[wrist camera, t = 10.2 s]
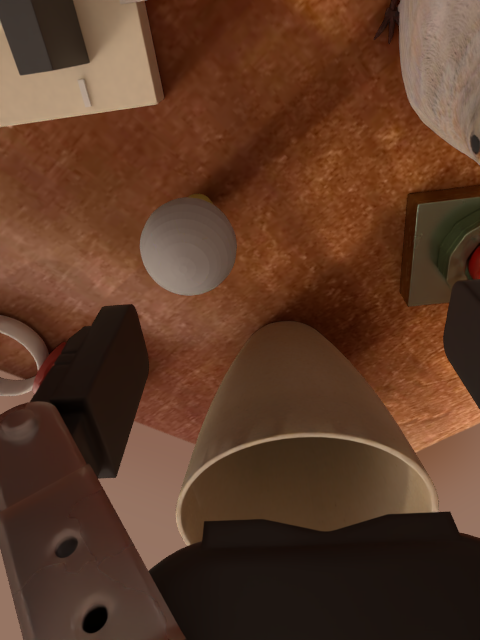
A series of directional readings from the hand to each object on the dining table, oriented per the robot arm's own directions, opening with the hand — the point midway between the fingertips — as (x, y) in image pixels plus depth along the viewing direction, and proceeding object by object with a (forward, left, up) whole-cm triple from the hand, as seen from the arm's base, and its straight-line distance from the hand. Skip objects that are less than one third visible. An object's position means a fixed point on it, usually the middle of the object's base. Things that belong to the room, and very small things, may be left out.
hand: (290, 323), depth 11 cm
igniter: (+8, +15, -21) cm, 27 cm away
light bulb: (+3, -5, -21) cm, 22 cm away
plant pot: (+17, 0, -21) cm, 27 cm away
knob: (-9, -10, -18) cm, 23 cm away
